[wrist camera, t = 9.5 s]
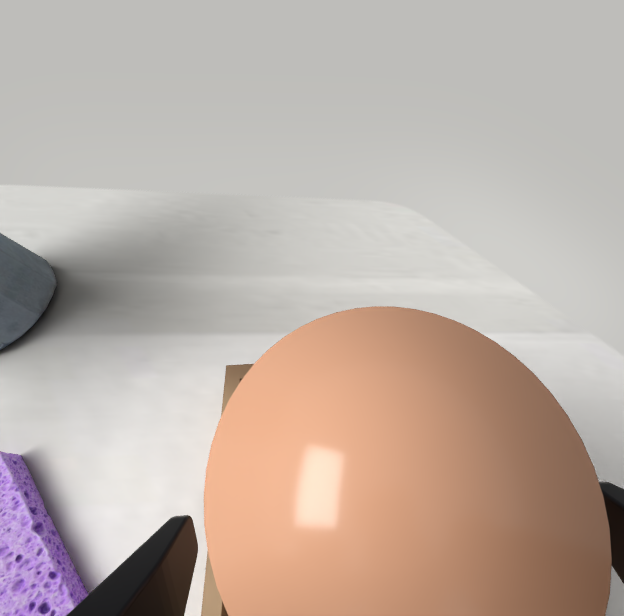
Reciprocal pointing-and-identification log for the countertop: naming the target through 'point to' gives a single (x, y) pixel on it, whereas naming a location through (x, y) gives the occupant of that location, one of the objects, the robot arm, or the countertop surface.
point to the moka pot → (22, 289)
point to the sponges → (32, 550)
